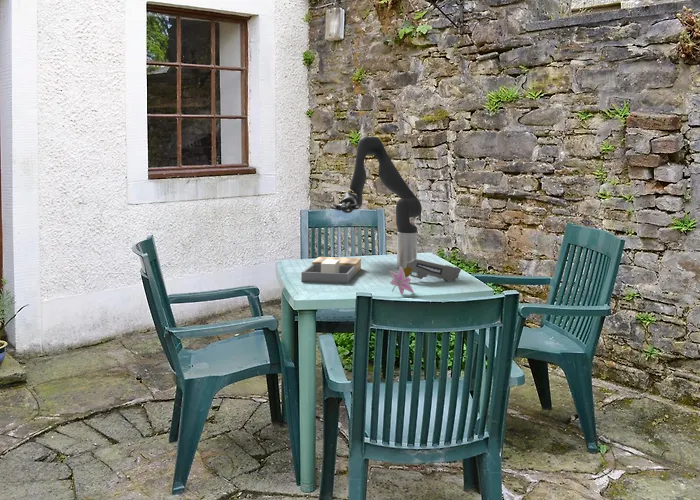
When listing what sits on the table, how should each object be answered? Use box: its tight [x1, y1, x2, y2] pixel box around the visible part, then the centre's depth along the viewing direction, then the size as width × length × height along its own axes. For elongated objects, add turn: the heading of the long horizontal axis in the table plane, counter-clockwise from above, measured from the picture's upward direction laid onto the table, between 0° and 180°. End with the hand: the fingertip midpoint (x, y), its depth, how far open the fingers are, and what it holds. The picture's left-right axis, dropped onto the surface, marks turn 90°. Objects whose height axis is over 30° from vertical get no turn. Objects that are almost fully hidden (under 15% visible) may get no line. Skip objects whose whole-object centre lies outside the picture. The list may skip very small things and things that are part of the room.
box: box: [300, 263, 357, 284], centre depth 327 cm, size 20×22×4 cm
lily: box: [389, 266, 415, 296], centre depth 297 cm, size 12×12×10 cm
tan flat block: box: [311, 256, 362, 275], centre depth 346 cm, size 20×16×5 cm
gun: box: [403, 258, 462, 282], centre depth 323 cm, size 3×25×15 cm, turn 100°
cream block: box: [321, 259, 339, 273], centre depth 330 cm, size 6×6×12 cm
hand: (343, 209), depth 355 cm, fingers closed
